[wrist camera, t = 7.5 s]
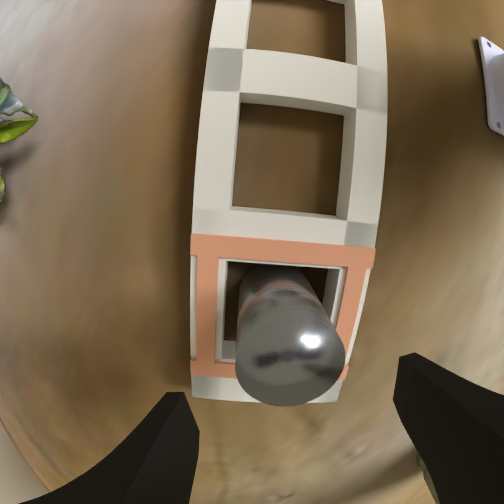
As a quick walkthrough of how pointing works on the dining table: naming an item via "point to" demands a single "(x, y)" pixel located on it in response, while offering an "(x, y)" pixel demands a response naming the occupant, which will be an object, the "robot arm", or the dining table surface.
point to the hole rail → (279, 221)
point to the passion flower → (12, 122)
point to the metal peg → (284, 338)
